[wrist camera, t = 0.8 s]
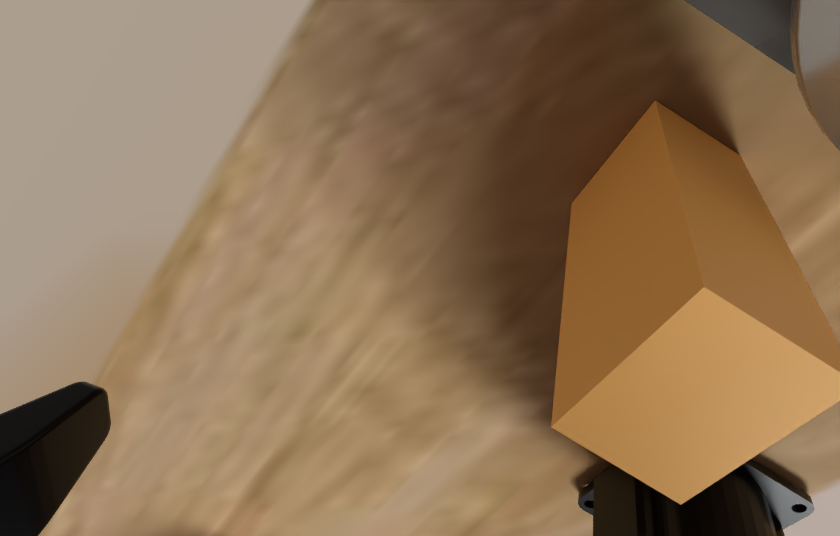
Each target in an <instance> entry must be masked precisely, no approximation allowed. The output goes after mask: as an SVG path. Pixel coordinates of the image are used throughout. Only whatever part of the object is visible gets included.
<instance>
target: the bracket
mask: <svg viewBox="0 0 840 536" xmlns="http://www.w3.org/2000/svg"><path fill="white" fill-rule="evenodd" d="M685 1H686V2H688V3H689V4H691V5H692V6H694V7H695V8H697V9H698V10H700V11H701V12H703V13H704V14H706V15H707V16H709V17H710V18H712V19H713V20H715V21H716V22H718V23H719V24H721V25H722V26H724V27H725V28H727V29H728V30H730V31H731V32H733V33H734V34H736V35H737V36H739V37H740V38H741V39H743V40H744V41H746V42H747V43H749V44H750V45H752V46H753V47H755V48H756V49H758V50H759V51H761V52H762V53H764V54H765V55H767V56H768V57H770V58H771V59H773V60H774V61H776V62H777V63H779V64H780V65H782V66H783V67H785V68H786V69H788V70H789V71H791V72H792V73H794V74H795V75H796V78H797V82H798V86H799V89H800V91H801V93H802V96H803V98H804V101H805V103H806V105H807V108H808V110H809V112H810V113H811V115H812V116H813V118H814V119H815V121H816V123H817V124H818V126H819V127H820V129H821V130H822V132H823V133H824V134H825V135H826V136H827V137H828V138H829V140H830V141H831V142H832V143H833V144H834V145H835V146H836V147H837V148H838V149H839V150H840V0H685Z"/></svg>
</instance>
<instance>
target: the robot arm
mask: <svg viewBox="0 0 840 536" xmlns="http://www.w3.org/2000/svg"><path fill="white" fill-rule="evenodd" d="M110 426H111V419H110V411H109V402H108V395H107V392H106V391H105V390H104V389H103V388H101V387H98V386H95V385H93V384H90V383H87V382H77V383H73V384H71V385H68V386H66V387H64V388H61V389H59V390H57V391H54V392H52V393H49V394H47V395H45V396H42V397H40V398H38V399H35V400H33V401H30V402H28V403H26V404H23V405H21V406H19V407H16V408H14V409H11V410H9V411H7V412H4V413H2V414H0V536H38V535H39V534H40V533H41V531H42V530H43V529H44V527H45V526H46V525H47V524H48V522H49V521H50V519H51V518H52V517H53V515H54V514H55V512H56V511H57V510H58V508H59V507H60V505H61V504H62V502H63V501H64V499H65V498H66V496H67V495H68V493H69V492H70V490H71V489H72V488H73V486H74V485H75V483H76V482H77V480H78V479H79V477H80V476H81V474H82V473H83V471H84V470H85V468H86V467H87V465H88V464H89V462H90V461H91V460H92V458H93V457H94V455H95V454H96V452H97V451H98V449H99V448H100V446H101V445H102V443H103V442H104V440H105V439H106V437H107V435H108V433H109V430H110ZM590 500H591V501H590ZM578 504H579V506H580V508H582V509H583V510H584V511H586V512H588V513H590V514H591V515H593V536H784V532H783V529H785V528H786V527H788V526H790V525H792V524H794V523H796V522H797V521H799V520H801V519H803V518H804V517H806V516H808V515H810V514H811V513H812V512H813V511H814V506H813V503H812V500H811V497H810V496H809V495H808V494H807V493H805V492H804V491H802V490H800V489H799V488H797V487H795V486H794V485H792V484H790V483H789V482H787V481H786V480H784V479H782V478H781V477H779V476H777V475H776V474H774V473H772V472H771V471H769V470H767V469H766V468H764V467H763V466H761V465H759V464H758V463H756V462H754V461H753V460H751V459H750V460H749V461H747V462H745V463H744V464H742V465H741V466H739V467H738V468H736V469H735V470H733V471H732V472H730V473H729V474H727V475H726V476H724V477H723V478H721V479H720V480H718V481H717V482H715V483H713V484H712V485H710V486H709V487H707V488H706V489H704V490H703V491H701V492H700V493H698V494H697V495H695V496H694V497H692V498H691V499H689V500H688V501H686V502H685V503H683V504H682V505H680V504H679V503H677V502H675V501H674V500H672V499H670V498H669V497H667V496H665V495H664V494H662V493H660V492H659V491H657V490H655V489H654V488H652V487H650V486H649V485H647V484H645V483H644V482H642V481H640V480H639V479H637V478H635V477H634V476H632V475H630V474H628V473H627V472H625V471H623V470H622V469H620V468H618V467H617V466H615V465H611V466H610V467H609V468H608V469H606V470H605V471H604V472H602V473H601V474H600V475H599V476H597V477H596V478H595V479H594V481H593V482H592V483H590V484H589V485H588V486H586V487H585V488H584V489H583V490H581V491H580V492H579V498H578Z"/></svg>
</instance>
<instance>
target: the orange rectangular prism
mask: <svg viewBox="0 0 840 536" xmlns="http://www.w3.org/2000/svg"><path fill="white" fill-rule="evenodd" d="M838 401H840V344H839V342H838V340H837V338H836V336H835V334H834V332H833V331H832V329H831V327H830V325H829V323H828V321H827V319H826V317H825V315H824V313H823V312H822V310H821V308H820V306H819V304H818V302H817V300H816V298H815V296H814V295H813V293H812V291H811V289H810V287H809V285H808V283H807V281H806V279H805V278H804V276H803V274H802V272H801V270H800V268H799V266H798V264H797V262H796V260H795V259H794V257H793V255H792V253H791V251H790V249H789V247H788V245H787V243H786V242H785V240H784V238H783V236H782V234H781V232H780V230H779V228H778V226H777V224H776V223H775V221H774V219H773V217H772V215H771V213H770V211H769V209H768V207H767V206H766V204H765V202H764V200H763V198H762V196H761V194H760V192H759V190H758V188H757V187H756V185H755V183H754V181H753V179H752V177H751V175H750V173H749V171H748V170H747V168H746V166H745V164H744V162H743V160H742V158H741V156H740V155H739V154H737V153H736V152H734V151H733V150H731V149H729V148H728V147H726V146H725V145H723V144H722V143H720V142H719V141H717V140H716V139H714V138H713V137H711V136H709V135H708V134H706V133H705V132H703V131H702V130H700V129H699V128H697V127H696V126H694V125H693V124H691V123H690V122H688V121H686V120H685V119H683V118H682V117H680V116H679V115H677V114H676V113H674V112H673V111H671V110H670V109H668V108H666V107H665V106H663V105H662V104H660V103H659V102H657V101H656V100H655V101H654V102H653V104H652V105H651V106H650V107H649V108H648V110H647V111H646V112H645V113H644V115H643V116H642V117H641V118H640V120H639V121H638V122H637V123H636V125H635V126H634V127H633V128H632V129H631V131H630V132H629V133H628V134H627V136H626V137H625V138H624V139H623V141H622V142H621V143H620V144H619V146H618V147H617V148H616V149H615V150H614V152H613V153H612V154H611V155H610V157H609V158H608V159H607V160H606V162H605V163H604V164H603V165H602V166H601V168H600V169H599V170H598V171H597V173H596V174H595V175H594V176H593V178H592V179H591V180H590V181H589V183H588V184H587V185H586V186H585V187H584V189H583V190H582V191H581V192H580V194H579V195H578V196H577V197H576V199H575V200H574V201H573V202H572V204H571V215H570V226H569V237H568V248H567V259H566V270H565V281H564V292H563V302H562V313H561V324H560V335H559V346H558V357H557V368H556V379H555V389H554V400H553V411H552V422H551V428H553V429H555V430H556V431H558V432H560V433H562V434H563V435H565V436H567V437H568V438H570V439H572V440H573V441H575V442H577V443H578V444H580V445H582V446H583V447H585V448H587V449H588V450H590V451H592V452H593V453H595V454H597V455H598V456H600V457H602V458H603V459H605V460H607V461H608V462H610V463H612V464H613V465H615V466H617V467H618V468H620V469H622V470H623V471H625V472H627V473H628V474H630V475H632V476H634V477H635V478H637V479H639V480H640V481H642V482H644V483H645V484H647V485H649V486H650V487H652V488H654V489H655V490H657V491H659V492H660V493H662V494H664V495H665V496H667V497H669V498H670V499H672V500H674V501H675V502H677V503H679V504H680V505H682V504H683V503H685V502H686V501H688V500H689V499H691V498H692V497H694V496H695V495H697V494H698V493H700V492H701V491H703V490H704V489H706V488H707V487H709V486H710V485H712V484H713V483H715V482H717V481H718V480H720V479H721V478H723V477H724V476H726V475H727V474H729V473H730V472H732V471H733V470H735V469H736V468H738V467H739V466H741V465H742V464H744V463H745V462H747V461H749V460H750V459H752V458H753V457H755V456H756V455H758V454H759V453H761V452H762V451H764V450H765V449H767V448H768V447H770V446H771V445H773V444H774V443H776V442H777V441H779V440H780V439H782V438H784V437H785V436H787V435H788V434H790V433H791V432H793V431H794V430H796V429H797V428H799V427H800V426H802V425H803V424H805V423H806V422H808V421H809V420H811V419H812V418H814V417H816V416H817V415H819V414H820V413H822V412H823V411H825V410H826V409H828V408H829V407H831V406H832V405H834V404H835V403H837V402H838Z"/></svg>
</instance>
